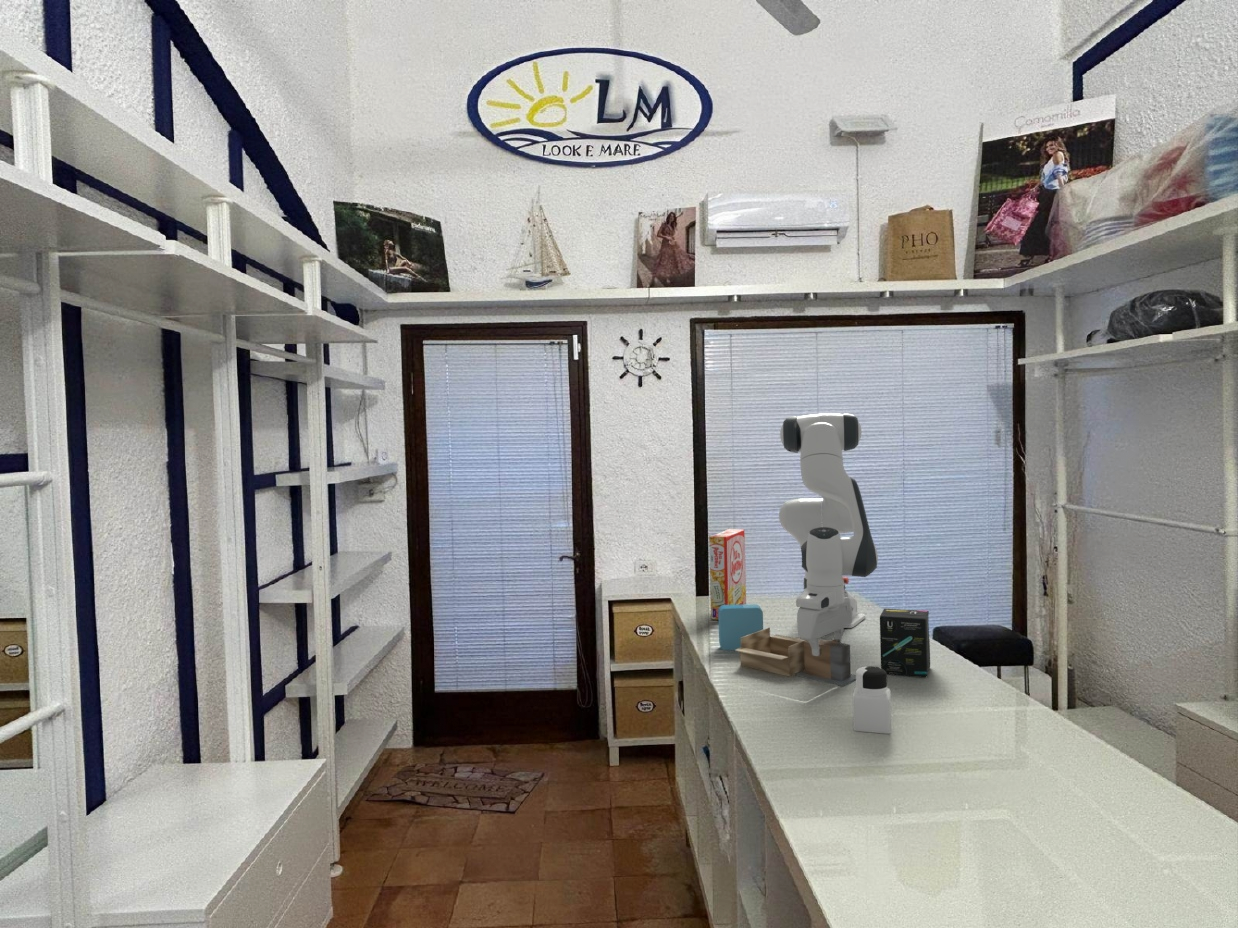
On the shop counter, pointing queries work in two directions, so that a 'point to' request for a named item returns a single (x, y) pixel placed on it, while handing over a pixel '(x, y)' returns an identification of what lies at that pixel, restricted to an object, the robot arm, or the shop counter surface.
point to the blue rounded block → (738, 624)
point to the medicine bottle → (871, 701)
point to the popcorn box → (727, 569)
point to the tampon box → (905, 642)
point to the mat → (839, 683)
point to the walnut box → (828, 660)
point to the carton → (772, 653)
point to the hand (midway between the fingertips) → (826, 650)
